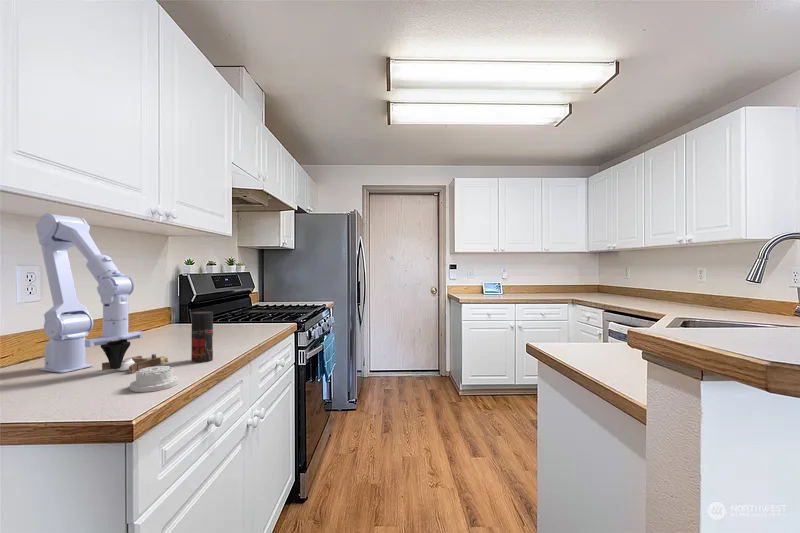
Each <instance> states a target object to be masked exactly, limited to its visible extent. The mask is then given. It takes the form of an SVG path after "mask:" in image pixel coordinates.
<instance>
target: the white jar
mask: <svg viewBox="0 0 800 533" xmlns="http://www.w3.org/2000/svg"><path fill="white" fill-rule="evenodd" d="M134 363H135V362H134V361H133V360H132V357H123V360H122V363H121V367H120V368H119V369H114V370H115V371H118V372H126V371H129V366H131V365H132V364H134Z"/></svg>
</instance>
